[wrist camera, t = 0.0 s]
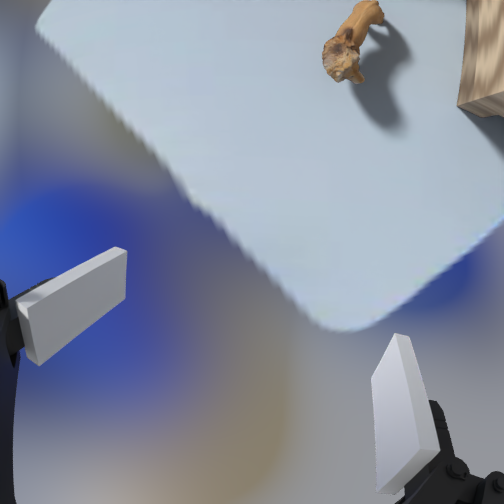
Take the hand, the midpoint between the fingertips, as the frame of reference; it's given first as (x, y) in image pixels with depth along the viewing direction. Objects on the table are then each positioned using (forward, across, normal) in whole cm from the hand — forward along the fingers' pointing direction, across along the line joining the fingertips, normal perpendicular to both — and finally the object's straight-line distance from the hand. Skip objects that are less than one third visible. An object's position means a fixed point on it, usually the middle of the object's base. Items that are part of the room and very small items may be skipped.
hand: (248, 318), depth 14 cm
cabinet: (+28, +23, +28) cm, 46 cm away
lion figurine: (+28, +2, +22) cm, 36 cm away
